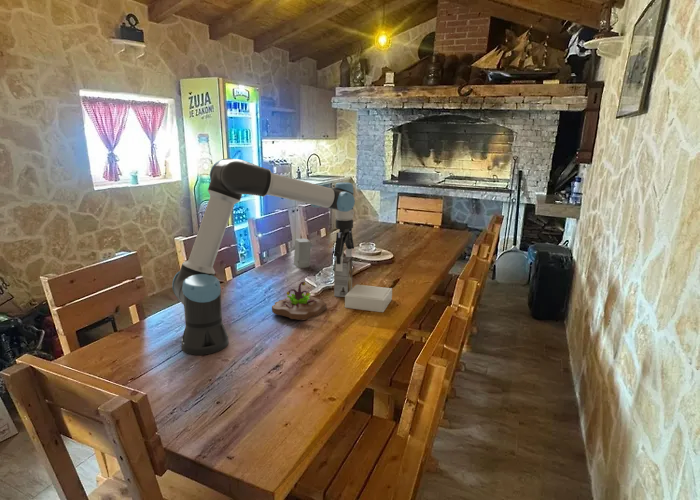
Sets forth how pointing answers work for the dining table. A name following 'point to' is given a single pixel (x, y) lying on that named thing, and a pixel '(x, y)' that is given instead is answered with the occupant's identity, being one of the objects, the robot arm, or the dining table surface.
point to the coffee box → (343, 277)
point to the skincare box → (302, 253)
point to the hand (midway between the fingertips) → (344, 266)
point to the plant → (299, 305)
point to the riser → (368, 298)
